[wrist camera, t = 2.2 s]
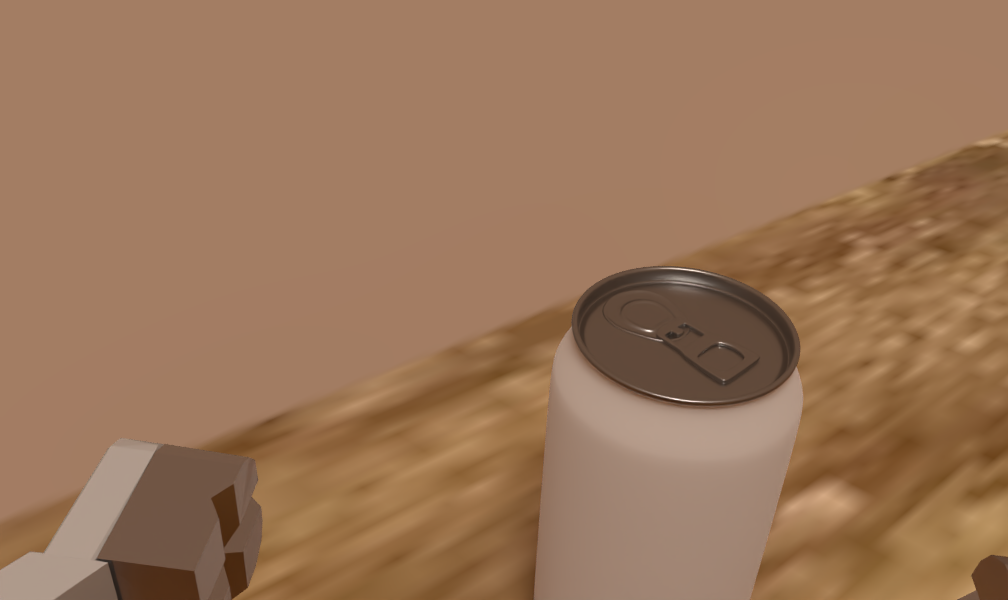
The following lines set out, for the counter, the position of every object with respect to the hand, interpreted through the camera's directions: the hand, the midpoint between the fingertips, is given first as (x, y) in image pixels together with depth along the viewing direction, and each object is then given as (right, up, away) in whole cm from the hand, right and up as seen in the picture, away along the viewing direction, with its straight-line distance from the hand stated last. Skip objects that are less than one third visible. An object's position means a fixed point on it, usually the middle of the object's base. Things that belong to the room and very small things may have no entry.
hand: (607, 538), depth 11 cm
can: (+3, -8, +20) cm, 21 cm away
